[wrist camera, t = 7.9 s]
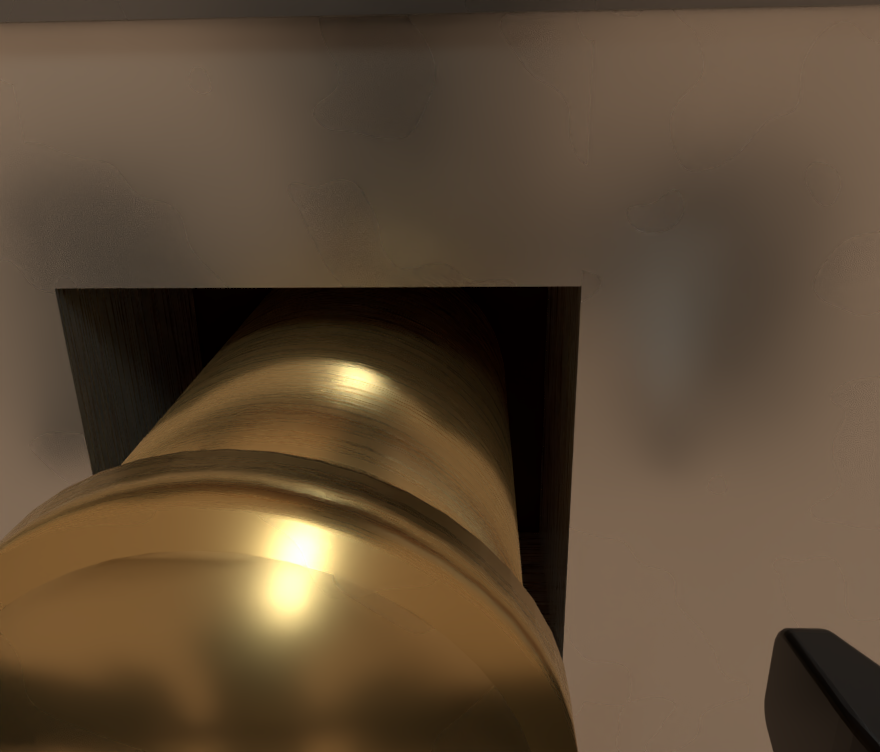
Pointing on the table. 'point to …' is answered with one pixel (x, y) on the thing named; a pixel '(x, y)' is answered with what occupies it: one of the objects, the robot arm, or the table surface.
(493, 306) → the table surface
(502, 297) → the table surface
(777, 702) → the robot arm
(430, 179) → the jig
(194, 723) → the door knob
